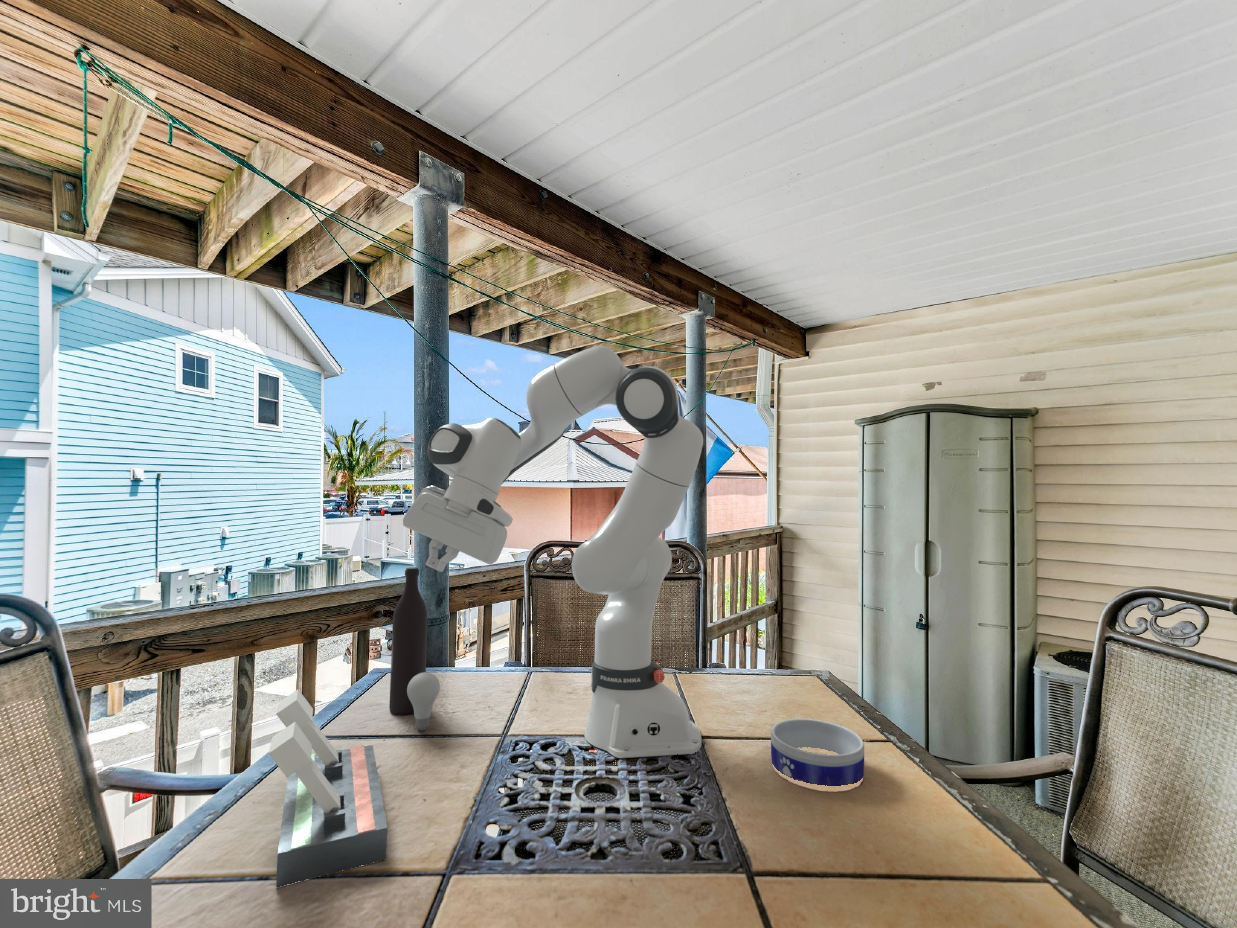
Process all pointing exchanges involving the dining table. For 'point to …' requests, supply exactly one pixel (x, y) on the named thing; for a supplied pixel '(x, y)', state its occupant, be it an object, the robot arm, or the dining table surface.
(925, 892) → the dining table surface
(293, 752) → the on lever
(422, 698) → the lightbulb
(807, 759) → the dog bowl
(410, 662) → the wine bottle
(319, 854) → the breaker box
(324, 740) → the lever
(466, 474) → the robot arm
